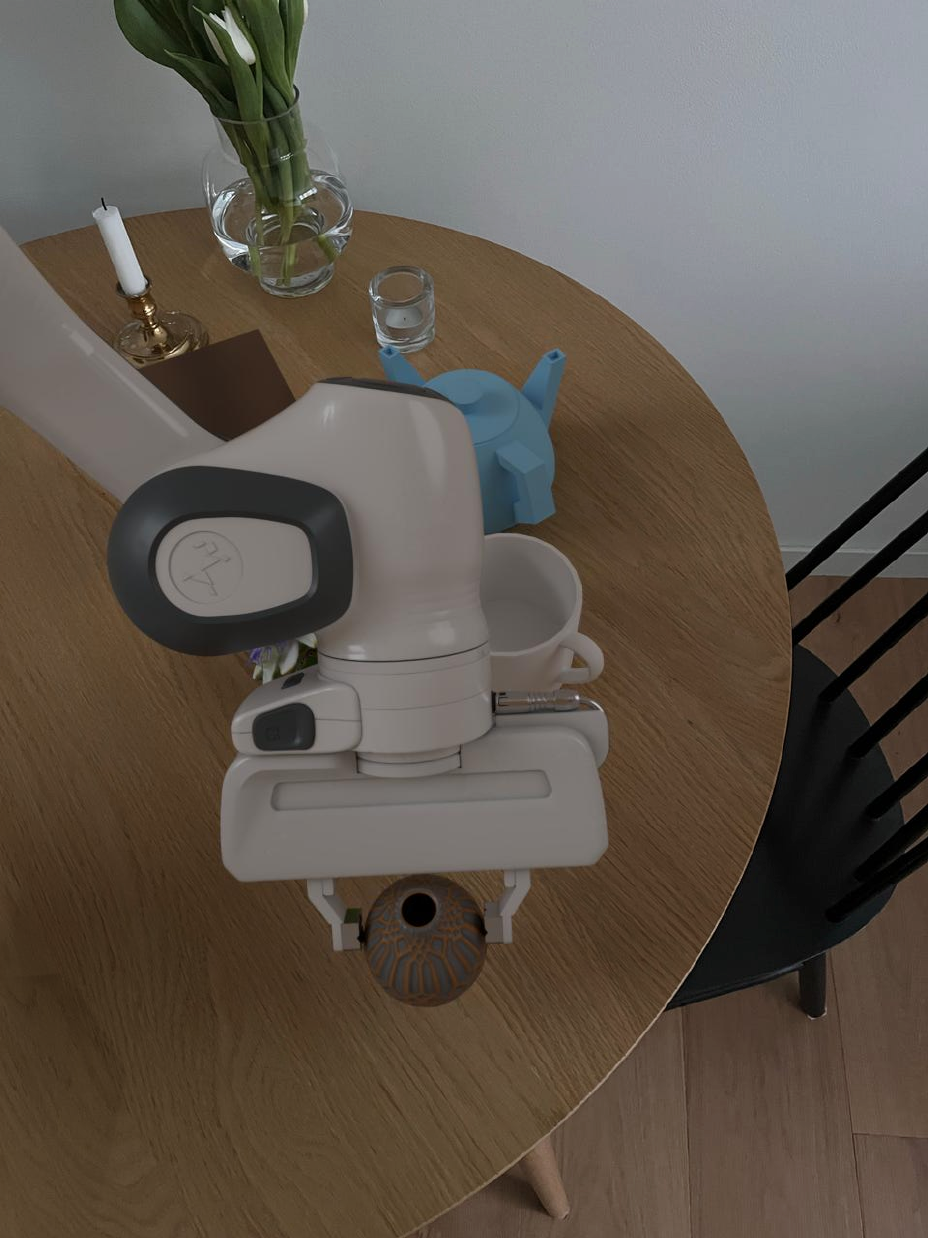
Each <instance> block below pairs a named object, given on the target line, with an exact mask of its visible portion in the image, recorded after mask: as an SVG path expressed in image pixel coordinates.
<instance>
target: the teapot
mask: <svg viewBox="0 0 928 1238" xmlns="http://www.w3.org/2000/svg"><path fill="white" fill-rule="evenodd" d="M377 353H378V357H379V360H380V363H381V366H382V369H383V373H384V375H385V378H386V381H393V382H400V383H406V384H413V385H416V386H419V387H423V388H424V387H427V388H430V389H432V390H434V391H436V392H438V393H440V394H442V395H443V396H445V397H446V398H448V399H449V400H450V401H452V402H453V403H454V404H455V405H456V407H457V408H458V409H459V410H460V411H461V412H462V413H463V415H464V417H465V418H466V420H467V423H468V425H469V428H470V432H471V435H472V439H473V444H474V448H475V453H476V459H477V465H478V473H479V480H480V489H481V499H482V510H483V524H484V536H486V535H491V534H496V533H502V532H503V531H506V530H508V529H510V528H512V527H515V526H517V525H518V524H525V525H526V524H528V525H537V524H539V523H541V522H542V521H544V520H547V519H548V518H550V516H553V515H554V514H556V512H557V511H556V507H555V503H554V499H553V498H554V497H553V493H552V489H551V488H552V486H553V482H554V479H555V473H556V471H555V469H556V468H555V467H556V465H555V463H556V461H555V453H554V447H553V443H552V439H551V436H550V433H549V429H550V425H551V421H552V418H553V413H554V409H555V406H556V401H557V398H558V393H559V390H560V385H561V382H562V377H563V375H564V370H565V366H566V361H567V357H568V356H567V355H566V354H565V353H564V352H563V351H562V350H561V349H559V348H558V347H556V348H554V349H552V350H550V351H548V352H546V353H544V354H542V355H541V359H540V360H539V362H538V363H537V365H536V367H535V368H534V369H533V371H532V373H531V374H530V375H529V377H528V378H527V380H526V381H525V383H524V384H523V386H522V388H521V389H520V390H518V389H517V388H516V387H515V386H514V385H513V384H512V383H510V382H509V381H507V380H506V379H504V378H502V376H499V375H498V374H495V373H492V372H490V371H487V370H482V369H473V368H462V369H455V370H454V369H453V370H451V371H447V372H444V373H441V374H439V375H437V376H435V377H432V378H431V379H430V380H428V381H426V380H425V379H424V378H423V377H422V376H421V374H420V373H419V372H418V371H417V370H416V369H415V368H414V366H413V365H412V364H411V363H410V362H409V361H408V360H407V358H405V356H404V355H403V354H402V351H401V350H399V349H398V348H397V347H395V346H393V345H392V344H390V343H388V344H386V345H385V346H384V347H382V348H380V349H379V350H377Z"/></svg>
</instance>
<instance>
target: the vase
mask: <svg viewBox="0 0 928 1238" xmlns="http://www.w3.org/2000/svg"><path fill="white" fill-rule="evenodd" d="M363 930H364V935H363V944H362V949H363V953H364V958H365V961H366V962H365V963H366V964H367V967H368V970H369V971H370V973H371V975H372V978H374V980H375V982H376V984H378V985H379V987H380V988H381V989H382V990H383V991H384V992H385V993H386V994H387V995H389V996H390V997H392V998H393V999H394V1000H396V1001H398V1002H399V1003H403V1004H405V1005H408V1006H412V1007H417V1008H434V1007H439V1006H443V1005H447V1004H448V1003H452V1002H453V1001H454V1000H456V999H458V998H459V997H461V996H462V995H464V994H465V993H466V992H467V991H468V990H469V989H470V988H471V987H472V986H473V985H474V983H475V982H476V981H477V979H478V978H479V976H480V975H481V973H482V971H483V968H484V965H485V961H486V957H487V954H488V945H486V941H485V921H484V912H483V911H482V909H481V907H480V906H479V903H478V902H477V900H476V899H475V897H473V895H472V894H471V893H470V892H469V891H468V890H467V889H466V888H465V887H463V886H462V885H460V883H458V882H456V881H454V880H453V879H451V878H449V877H446V876H443V875H439V874H436V873H432V874H410V875H407V876H404V877H402V878H399V879H398V880H395V881H394V882H393V883H391V884H390V885H389V886H387V887H386V888H385V889H384V890H383V891H382V892H381V893H380V894H379V895H378V897H376V899H375V900H374V902H373V904H372V905H371V907H370V909H369V911H368V913H367V916H366V919H365V922H364V926H363Z"/></svg>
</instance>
